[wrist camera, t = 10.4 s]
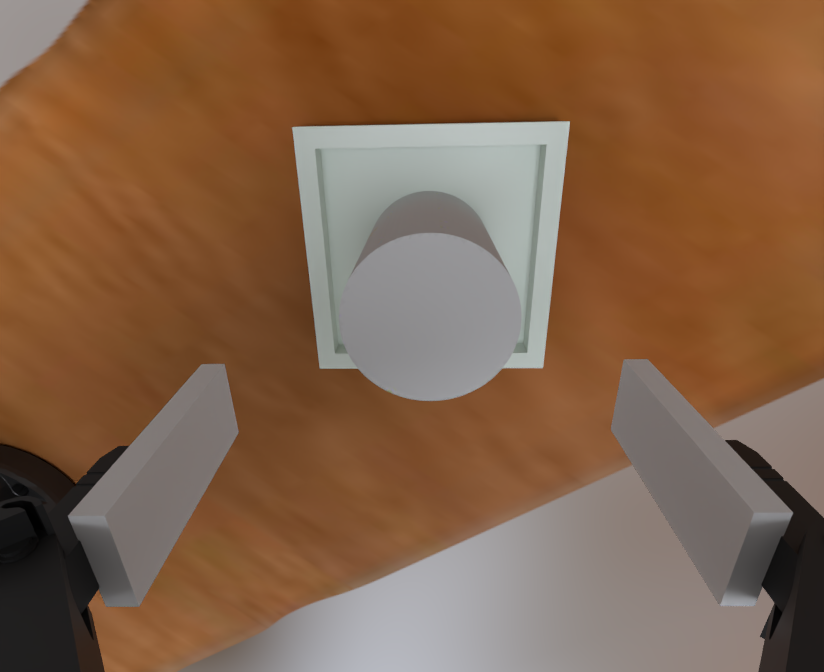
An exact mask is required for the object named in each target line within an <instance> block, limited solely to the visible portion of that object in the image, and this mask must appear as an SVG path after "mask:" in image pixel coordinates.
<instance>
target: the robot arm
mask: <svg viewBox="0 0 824 672" xmlns="http://www.w3.org/2000/svg"><path fill="white" fill-rule="evenodd" d="M611 431H612V432H613V434H614V435H615V437H616V439H617V440H618V442H619V444H620V445H621V447H622V448H623V450H624V452H625V453H626V455H627V457H628V458H629V460H630V461H631V463H632V465H633V466H634V468H635V469H636V471H637V473H638V474H639V476H640V478H641V479H642V481H643V482H644V484H645V486H646V487H647V489H648V490H649V492H650V494H651V495H652V497H653V499H654V500H655V502H656V503H657V505H658V507H659V508H660V510H661V512H662V513H663V515H664V516H665V518H666V520H667V521H668V523H669V524H670V526H671V528H672V529H673V531H674V533H675V534H676V536H677V537H678V539H679V541H680V542H681V544H682V546H683V547H684V549H685V550H686V552H687V554H688V555H689V557H690V558H691V560H692V562H693V563H694V565H695V566H696V568H697V570H698V571H699V573H700V575H701V576H702V578H703V579H704V581H705V583H706V584H707V586H708V588H709V589H710V591H711V592H712V594H713V596H714V597H715V599H716V600H717V602H718V604H719V605H720V606H755V604H756V601H757V599H758V596H759V594H760V591H761V589H762V587H763V588H764V589H765V590H766V592H767V593H768V594H769V596H770V597H771V598H772V600H773V601H774V606H773V608H772V610H771V613H770V615H769V617H768V619H767V622H766V624H765V626H764V629H763V631H762V633H761V635H760V637H762V638H764V639H765V641H764V646H763V652H762V657H761V662H760V667H759V672H824V518H823V517H822V516H821V515H820V514H819V513H818V512H817V511H816V510H815V509H814V508H813V507H812V506H811V505H810V504H809V503H808V502H807V501H806V500H805V499H804V498H803V497H802V496H801V495H800V494H799V493H798V492H797V491H796V490H795V489H794V488H793V487H792V486H791V485H790V484H789V483H788V482H787V481H784V480H783V477H782V476H781V475H780V474H779V473H778V472H777V471H775V469H772V468H771V465H770V464H769V463H767V462H766V461H765V460H764V459H763V458H762V457H761V456H760V455H759V454H758V453H757V452H756V451H754V450H752V449H751V448H749V447H747V446H746V445H744V444H742V443H741V442H739V441H737V440H724V439H723V438H722V437H721V436H720V435H719V434H718V433H717V432H716V431H715V430H714V429H713V428H712V427H711V425H710V424H709V423H708V422H707V421H706V420H705V419H704V418H703V417H702V416H701V415H700V414H699V413H698V412H697V411H696V410H695V409H694V408H693V407H692V405H691V404H690V403H689V402H688V401H687V400H686V399H685V398H684V397H683V396H682V395H681V394H680V393H679V392H678V391H677V390H676V389H675V388H674V387H673V385H672V384H671V383H670V382H669V381H668V380H667V379H666V378H665V377H664V376H663V375H662V374H661V373H660V372H659V371H658V370H657V369H656V368H655V367H654V366H653V364H652V363H651V362H650V361H649V360H648V359H629V360H624V362H623V367H622V372H621V378H620V383H619V388H618V394H617V399H616V405H615V410H614V415H613V421H612V426H611ZM238 433H239V432H238V427H237V422H236V417H235V412H234V407H233V402H232V397H231V393H230V388H229V383H228V378H227V373H226V368H225V364H201V365H200V367H199V368H198V369H197V370H196V371H195V372H194V373H193V375H192V376H191V377H190V378H189V379H188V380H187V381H186V382H185V384H184V385H183V386H182V387H181V388H180V389H179V390H178V392H177V393H176V394H175V395H174V396H173V397H172V398H171V399H170V401H169V402H168V403H167V404H166V405H165V406H164V407H163V409H162V410H161V411H160V412H159V413H158V414H157V415H156V416H155V418H154V419H153V420H152V421H151V422H150V423H149V424H148V426H147V427H146V428H145V429H144V430H143V431H142V432H141V433H140V435H139V436H138V437H137V438H136V439H135V440H134V441H133V443H132V444H131V445H130V446H118V447H117V448H115V449H114V450H112V451H111V452H109V453H107V454H106V455H104V456H103V457H101V458H100V459H99V460H98V461H97V462H96V463H95V464H94V465H93V466H92V467H91V468H90V470H89V471H88V472H87V475H84V476H83V477H82V478H81V479H80V480H79V481H78V482H77V483H76V486H75V485H74V484H73V483H72V482H71V481H70V480H69V479H68V478H67V477H65V476H64V475H63V474H62V473H61V472H59V471H58V470H57V469H55V468H54V467H52V466H51V465H49V464H48V463H46V462H44V461H42V460H41V459H39V458H37V457H35V456H33V455H30V454H28V453H26V452H23V451H20V450H18V449H14V448H11V447H7V446H3V445H0V672H105V671H104V666H103V662H102V657H101V653H100V649H99V644H98V640H97V635H96V631H95V626H94V622H93V617H92V614H91V611H90V609H89V607H88V604H89V602H90V601H91V599H92V598H93V596H94V595H95V594H96V592H97V591H98V589H99V591H100V593H101V596H102V598H103V601H104V603H105V605H106V607H139V606H140V604H141V602H142V601H143V599H144V597H145V595H146V594H147V592H148V590H149V588H150V587H151V585H152V583H153V581H154V580H155V578H156V576H157V574H158V573H159V571H160V569H161V567H162V566H163V564H164V562H165V560H166V559H167V557H168V555H169V554H170V552H171V550H172V548H173V547H174V545H175V543H176V541H177V540H178V538H179V536H180V534H181V533H182V531H183V529H184V527H185V526H186V524H187V522H188V520H189V519H190V517H191V515H192V513H193V512H194V510H195V508H196V506H197V505H198V503H199V501H200V499H201V498H202V496H203V494H204V492H205V491H206V489H207V487H208V485H209V484H210V482H211V480H212V478H213V477H214V475H215V473H216V471H217V470H218V468H219V466H220V464H221V463H222V461H223V459H224V457H225V456H226V454H227V452H228V450H229V449H230V447H231V445H232V443H233V442H234V440H235V438H236V436H237V435H238Z"/></svg>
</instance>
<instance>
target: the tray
mask: <svg viewBox="0 0 824 672" xmlns="http://www.w3.org/2000/svg"><path fill="white" fill-rule="evenodd" d="M569 126H570V121H536V122H486V123H437V124H387V125H337V126H299V127H292V129H293V138H294V147H295V156H296V164H297V173H298V182H299V191H300V200H301V208H302V217H303V226H304V235H305V244H306V252H307V261H308V270H309V279H310V288H311V296H312V305H313V314H314V323H315V332H316V340H317V349H318V358H319V367H320V369H358V368H357V367H356V365H355V364H354V363H353V361H352V360H351V358H350V356H349V355H348V353H347V351H346V348H345V346H344V343H343V341H342V337H341V333H340V327H339V307H340V301H341V297H342V294H343V291H344V288H345V286H346V284H347V281H348V279H349V277H350V275H351V273H352V271H353V269H354V267H355V265H356V263H357V261H358V259H359V257H360V254H361V252H362V250H363V248H364V246H365V244H366V242H367V240H368V238H369V236H370V234H371V232H372V230H373V227H374V225H375V223H376V222H377V220H378V218H379V217H380V215H381V214H382V213H383V212H384V211H385V210H386V209H387V208H388V207H389V206H390V205H391V204H392V203H394V202H395V201H397V200H398V199H400V198H402V197H404V196H406V195H409V194H412V193H416V192H421V191H438V192H443V193H447V194H450V195H453V196H455V197H457V198H459V199H461V200H462V201H464V202H465V203H467V204H468V205H469V206H470V207H471V208H472V209H473V210H474V211H475V212H476V213H477V214H478V216H479V217H480V219H481V220H482V222H483V224H484V226H485V228H486V230H487V232H488V234H489V236H490V238H491V240H492V241H493V243H494V245H495V247H496V249H497V251H498V253H499V255H500V257H501V259H502V261H503V263H504V265H505V267H506V269H507V270H508V272H509V274H510V276H511V278H512V280H513V282H514V284H515V287H516V289H517V292H518V295H519V299H520V304H521V329H520V334H519V338H518V341H517V344H516V347H515V349H514V351H513V353H512V355H511V357H510V358H509V360H508V361H507V363H506V364H505V365H504V367H503V368H543V363H544V354H545V345H546V336H547V327H548V317H549V308H550V299H551V290H552V281H553V272H554V263H555V254H556V244H557V235H558V226H559V217H560V208H561V199H562V190H563V181H564V171H565V162H566V153H567V144H568V135H569Z"/></svg>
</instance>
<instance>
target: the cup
mask: <svg viewBox="0 0 824 672" xmlns="http://www.w3.org/2000/svg"><path fill="white" fill-rule="evenodd" d="M339 327H340V333H341V337H342V341H343V343H344V346H345V348H346V351H347V353H348V355H349V356H350V358H351V360H352V361H353V363H354V364H355V365H356V367H357V368H358V369H359V370H360V371H361V372H362V373H363V374H364V375H365V376H366V377H367V378H368V379H369V380H370V381H372V382H373V383H374V384H376V385H377V386H379V387H380V388H382V389H384V390H386V391H388V392H390V393H392V394H395V395H398V396H401V397H404V398H408V399H413V400H420V401H440V400H447V399H452V398H456V397H459V396H462V395H465V394H467V393H470V392H472V391H474V390H476V389H478V388H479V387H481V386H483V385H484V384H486V383H487V382H488V381H490V380H491V379H492V378H493V377H494V376H495V375H496V374H497V373H498V372H499V371H500V370H501V369H502V368H503V367H504V365H505V364H506V363H507V361H508V360H509V358H510V357H511V355H512V353H513V351H514V349H515V347H516V344H517V341H518V338H519V334H520V329H521V304H520V299H519V295H518V292H517V289H516V287H515V284H514V282H513V280H512V278H511V276H510V274H509V272H508V270H507V269H506V267H505V265H504V263H503V261H502V259H501V257H500V255H499V253H498V251H497V249H496V247H495V245H494V243H493V241H492V240H491V238H490V236H489V234H488V232H487V230H486V228H485V226H484V224H483V222H482V220H481V219H480V217H479V216H478V214H477V213H476V212H475V211H474V210H473V209H472V208H471V207H470V206H469V205H468V204H467V203H465V202H464V201H462V200H461V199H459V198H457V197H455V196H453V195H450V194H447V193H443V192H438V191H421V192H416V193H412V194H409V195H406V196H404V197H402V198H400V199H398V200H397V201H395V202H394V203H392V204H391V205H390V206H389V207H388V208H387V209H386V210H385V211H384V212H383V213H382V214H381V215H380V217H379V218H378V220H377V222H376V223H375V225H374V227H373V230H372V232H371V234H370V236H369V238H368V240H367V242H366V244H365V246H364V248H363V250H362V252H361V254H360V257H359V259H358V261H357V263H356V265H355V267H354V269H353V271H352V273H351V275H350V277H349V279H348V281H347V284H346V286H345V288H344V291H343V294H342V297H341V301H340V307H339Z"/></svg>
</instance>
